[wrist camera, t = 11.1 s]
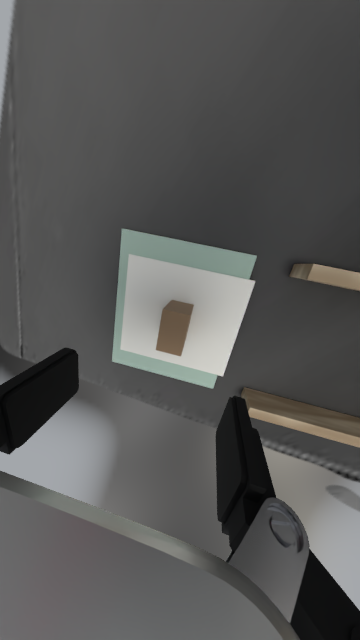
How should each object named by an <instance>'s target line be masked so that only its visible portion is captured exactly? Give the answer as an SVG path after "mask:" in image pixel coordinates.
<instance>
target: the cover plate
mask: <svg viewBox="0 0 360 640" xmlns="http://www.w3.org/2000/svg"><path fill="white" fill-rule="evenodd" d="M254 284H255V281H253V280H249V279H244V278H239V277H235V276H230V275H225V274H221V273H216V272H211V271H207V270H202V269H197V268H193V267H188V266H183V265H179V264H174V263H169V262H165V261H160V260H155V259H151V258H146V257H141V256H137V255H132V254H129V257H128V269H127V280H126V291H125V302H124V313H123V325H122V336H121V347H120V350H124V351H128V352H132V353H136V354H140V355H143V356H147V357H151V358H155V359H159V360H162V361H166V362H170V363H174V364H178V365H181V366H185V367H189V368H193V369H197V370H200V371H204V372H208V373H212V374H216V375H219V376H223V374H224V372H225V369H226V366H227V363H228V360H229V357H230V354H231V351H232V348H233V345H234V342H235V339H236V337H237V334H238V331H239V328H240V325H241V322H242V319H243V316H244V313H245V310H246V307H247V305H248V302H249V299H250V296H251V293H252V290H253V287H254Z"/></svg>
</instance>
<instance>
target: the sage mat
mask: <svg viewBox="0 0 360 640" xmlns="http://www.w3.org/2000/svg"><path fill="white" fill-rule="evenodd" d="M129 254H132V255H137V256H141V257H146V258H151V259H155V260H160V261H165V262H169V263H174V264H179V265H183V266H188V267H193V268H197V269H202V270H207V271H211V272H216V273H221V274H225V275H230V276H235V277H239V278H244V279H250V276H251V273H252V270H253V267H254V264H255V261H256V258H257V256H255V255H250V254H245V253H240V252H236V251H231V250H226V249H221V248H216V247H211V246H206V245H201V244H196V243H191V242H186V241H182V240H177V239H172V238H167V237H162V236H157V235H152V234H147V233H142V232H137V231H133V230H128V229H123V228H122V235H121V249H120V262H119V275H118V289H117V302H116V316H115V329H114V342H113V356H112V361H113V362H116V363H120V364H124V365H127V366H131V367H135V368H139V369H142V370H146V371H150V372H153V373H157V374H161V375H164V376H168V377H172V378H175V379H179V380H183V381H186V382H190V383H194V384H197V385H201V386H205V387H209V388H212V389H213V387H214V384H215V381H216V378H217V375H216V374H212V373H208V372H204V371H200V370H197V369H193V368H189V367H185V366H181V365H178V364H174V363H170V362H166V361H162V360H159V359H155V358H151V357H147V356H143V355H140V354H136V353H132V352H128V351H124V350H120V347H121V336H122V325H123V313H124V302H125V291H126V280H127V269H128V257H129Z"/></svg>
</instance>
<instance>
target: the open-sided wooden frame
mask: <svg viewBox="0 0 360 640" xmlns="http://www.w3.org/2000/svg"><path fill="white" fill-rule="evenodd" d="M289 277H294V278H298V279H303V280H308V281H313V282H317V283H322V284H327V285H332V286H336V287H341V288H346V289H351V290H355V291H360V273H357V272H352V271H347V270H342V269H337V268H333V267H328V266H323V265H318V264H294V266H293V268H292V271H291V273H290V276H289ZM241 396H242V398H244V399H245V401H246V405H247V409H248V413H249V417H253V418H256V419H260V420H263V421H267V422H270V423H274V424H278V425H281V426H285V427H288V428H292V429H295V430H299V431H303V432H306V433H310V434H313V435H317V436H320V437H324V438H328V439H331V440H335V441H338V442H342V443H345V444H349V445H353V446H356V447H360V418H358V417H354V416H351V415H347V414H343V413H339V412H336V411H332V410H328V409H324V408H321V407H317V406H313V405H309V404H306V403H302V402H298V401H294V400H291V399H287V398H283V397H279V396H276V395H272V394H268V393H264V392H261V391H257V390H253V389H249V388H246V387H244V389H243V391H242V393H241Z"/></svg>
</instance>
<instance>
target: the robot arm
mask: <svg viewBox="0 0 360 640" xmlns="http://www.w3.org/2000/svg"><path fill="white" fill-rule="evenodd" d="M78 383H79V378H78V354H77V353H76V351H75V350H73V349H69V348H63V349H61V350H60V351H58V352H56V353H55V354H53V355H51V356H49V357H48V358H46V359H44V360H43V361H41V362H39V363H38V364H36V365H34V366H32V367H31V368H29V369H28V370H26V371H24V372H22V373H20V374H19V375H17V376H15V377H14V378H12V379H10V380H8V381H7V382H5V383H3V384H2V385H0V451H1V452H4V453H7V454H10V453H11V452H12V451H14V450H15V449H16V448H19V447H20V446H22V445H23V444H24V443H25V442H26V441H27V440H28V439H29V438H30V437H31V436H32V435H33V434H34V433H35V432H36V431H37V430H38V429H39V428H40V427H42V426H43V425H44V424H45V423H46V422H47V421H48V420H49V419H50V418H51V417H52V416H53V415H54V414H55V413H56V412H57V411H58V410H59V409H60V408H61V407H62V406H63V405H64V404H65V403H66V402H67V401H68V400H69V399H70V398H71V397H73V395H75V394H76V392H77V391H78V388H79V384H78ZM216 471H217V515H218V521H220V522H222V533H224V534H227V535H229V540H230V541H229V542H230V547H231V549H232V551H231V553H230V555H229V557H228V558H227V560H226V562H225V561H224V560H222V559H220V558H219V557H216V556H214V555H212V554H210V553H208V552H206V551H204V550H202V549H200V548H198V547H196V546H193V545H191V544H188V543H186V542H183V541H181V540H179V539H176V538H174V537H171V536H169V535H167V534H164V533H161V532H159V531H157V530H154V529H152V528H149V527H146V526H144V525H141V524H139V523H136V522H134V521H131V520H128V519H126V518H123V517H121V516H118V515H116V514H113V513H110V512H108V511H105V510H103V509H100V508H97V507H95V506H92V505H90V504H87V503H84V502H82V501H79V500H76V499H74V498H71V497H68V496H66V495H63V494H61V493H57V492H55V491H52V490H50V489H47V488H45V487H42V486H39V485H37V484H34V483H32V482H29V481H26V480H24V479H21V478H18V477H15V476H13V475H10V474H7V473H5V472H2V471H0V640H360V611H359V609H358V608H357V607H356V606H355V605H354V603H353V602H352V601H351V600H350V599H349V597H348V596H347V595H346V593H345V592H344V591H343V590H342V588H341V587H340V586H339V585H338V584H337V582H336V581H335V580H334V579H333V577H332V576H331V575H330V574H329V572H328V571H327V570H326V569H325V567H324V566H323V565H322V564H321V563H320V561H319V560H318V559H317V558H316V556H315V555H314V554H313V553H312V551H311V550H310V549H309V541H308V536H307V533H306V531H305V529H304V526H303V524H302V523H301V521H300V519H299V517H298V516H297V515H296V514H295V512H294V511H293V510H292V508H290V507H289V506H288V505H287V504H286V503H285V502H283V501H282V500H280V499H278V498H276V495H275V492H274V488H273V485H272V480H271V477H270V473H269V469H268V466H267V462H266V458H265V455H264V451H263V447H262V444H261V440H260V436H259V433H258V431H257V429H254V428H252V425H251V421H250V417H249V413H248V409H247V405H246V401H245V399H244V398H241V397H237V396H233V398H231V397H230V398H229V400H228V403H227V405H226V408H225V410H224V413H223V415H222V418H221V421H220V423H219V426H218V428H217V431H216Z"/></svg>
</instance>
